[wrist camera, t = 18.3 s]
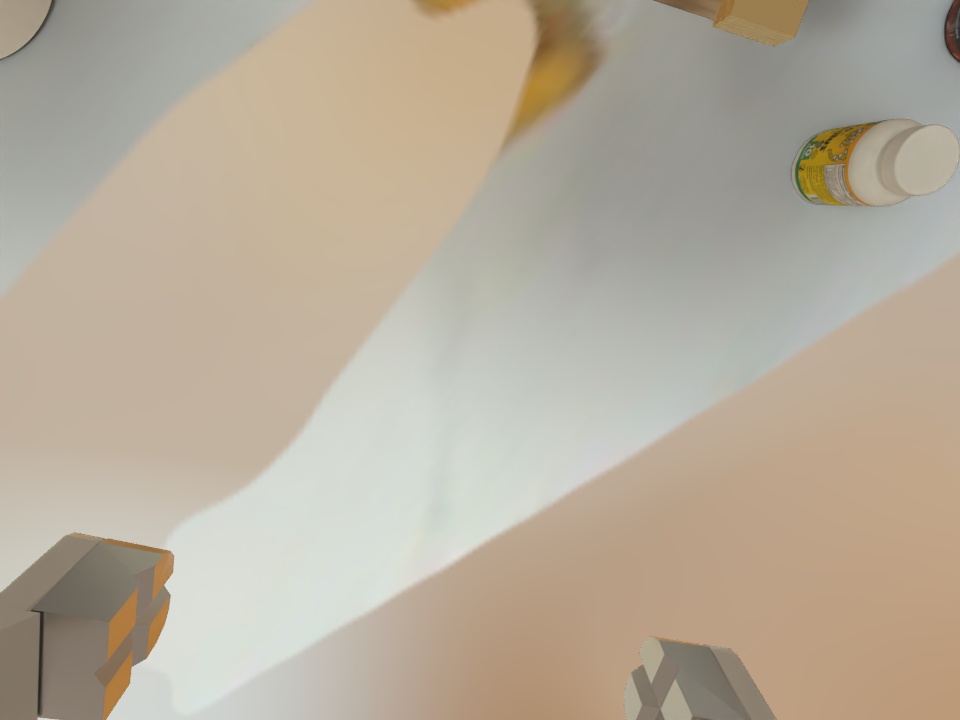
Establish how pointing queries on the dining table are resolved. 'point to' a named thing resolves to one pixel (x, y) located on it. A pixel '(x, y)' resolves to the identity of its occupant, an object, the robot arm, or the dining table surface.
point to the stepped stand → (696, 6)
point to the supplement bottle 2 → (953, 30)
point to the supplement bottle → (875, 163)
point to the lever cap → (761, 19)
